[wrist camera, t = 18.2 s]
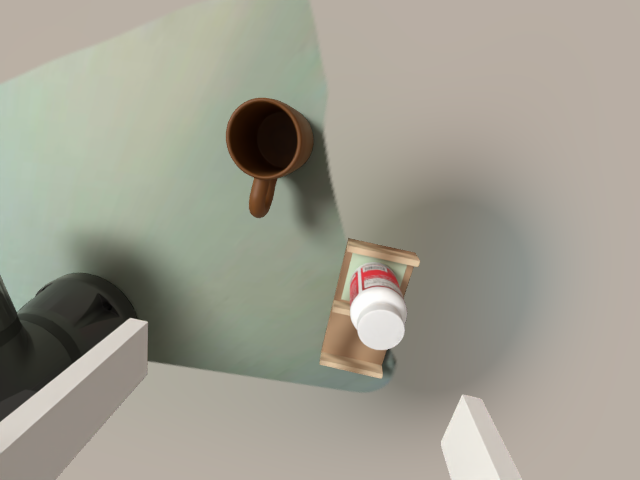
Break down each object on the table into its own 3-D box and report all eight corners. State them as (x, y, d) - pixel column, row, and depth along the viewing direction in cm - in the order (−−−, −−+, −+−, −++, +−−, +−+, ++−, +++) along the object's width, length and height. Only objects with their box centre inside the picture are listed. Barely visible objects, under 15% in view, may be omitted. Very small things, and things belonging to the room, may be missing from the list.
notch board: (321, 350, 46) (319, 364, 44) (348, 238, 40) (348, 245, 38) (379, 363, 46) (381, 378, 43) (415, 252, 40) (420, 261, 37)
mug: (301, 211, 40) (287, 231, 31) (245, 198, 40) (215, 214, 31) (320, 114, 36) (310, 105, 27) (258, 100, 36) (228, 87, 27)
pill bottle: (367, 310, 42) (373, 366, 32) (340, 277, 41) (337, 324, 30) (406, 286, 40) (425, 337, 30) (378, 251, 39) (389, 291, 29)
